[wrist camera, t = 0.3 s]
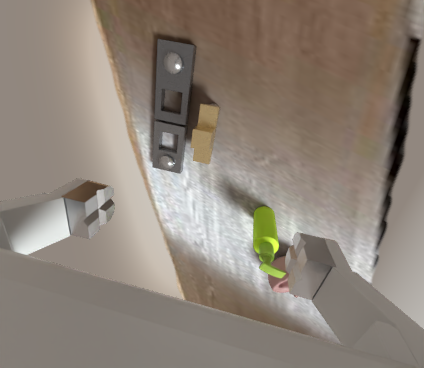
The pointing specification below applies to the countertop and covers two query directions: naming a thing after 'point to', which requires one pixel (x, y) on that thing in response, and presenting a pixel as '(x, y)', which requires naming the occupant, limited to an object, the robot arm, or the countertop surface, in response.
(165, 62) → the plate
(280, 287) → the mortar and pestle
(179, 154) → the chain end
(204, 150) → the tan bridge piece
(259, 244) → the soap dispenser
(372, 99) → the countertop surface
